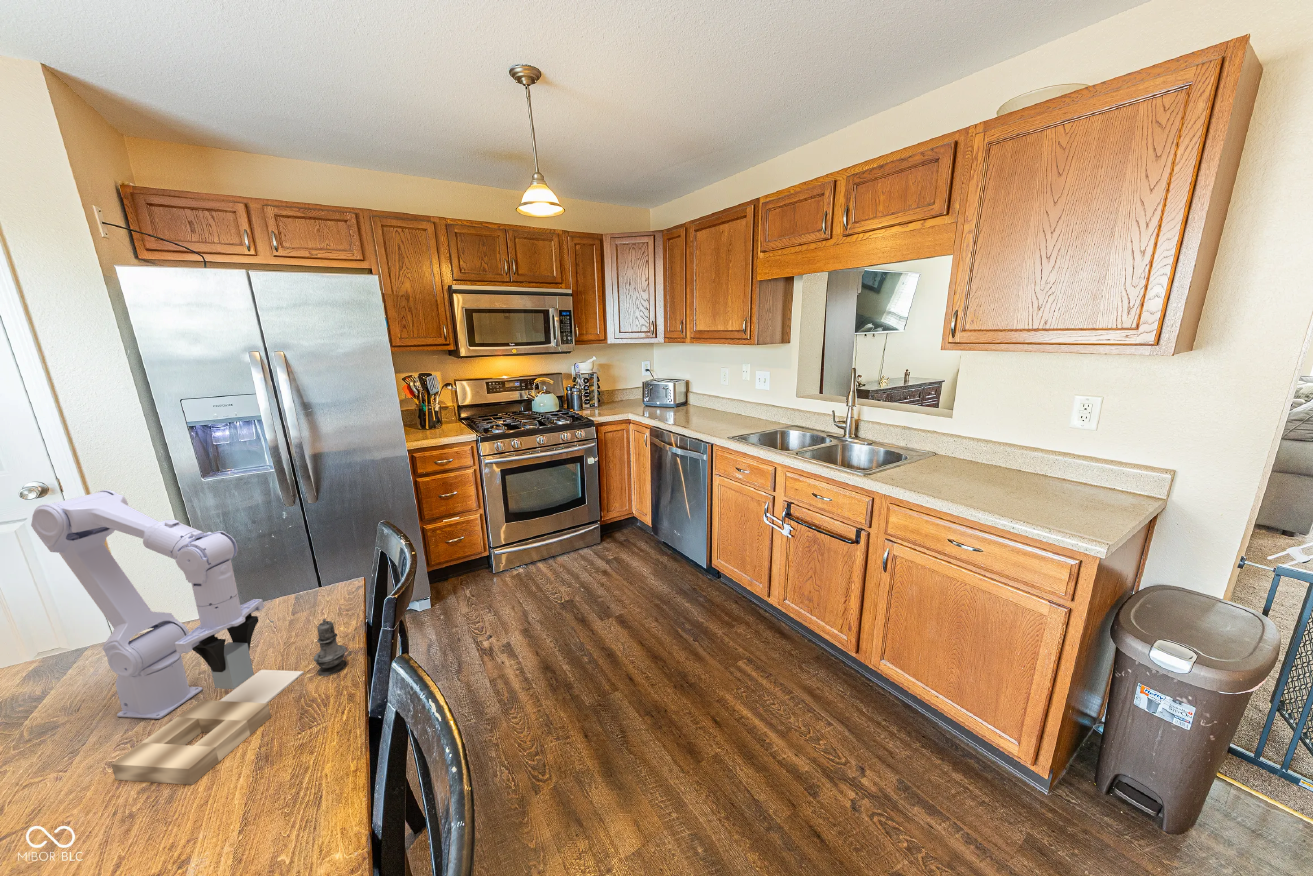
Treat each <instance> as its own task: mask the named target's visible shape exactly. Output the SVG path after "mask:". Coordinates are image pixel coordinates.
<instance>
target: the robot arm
mask: <svg viewBox="0 0 1313 876" xmlns="http://www.w3.org/2000/svg"><path fill="white" fill-rule="evenodd" d="M31 518H32V520H31V524H30V526H31V527H32V530H33V531H34V532H35V534H36V535H37V537H38V538H39V539H40V540H41V542H42V543H43V544H44V546H45V547H46V548H47V550H48V551H49V552H51V553H59V555H60V557H61V558H62V559H63V561H64V562H65V563H66V565H67V566H68V568H69V569H70V571H71V572H72V573H73V575H74V576H75V577H76V579H77V580H78V581H79V583H80V584H81V586H82V587H83V588H84V589H85V591H86V592H87V594H88V596H90V598H91V599H92V600H93V602H94V603H95V604H96V606H97V608H98V609H99V610H100V612H101V613H102V614H103V616H104V617H105V618H106V620H107V621H108V622H109V624H110V625H111V626H112V628H113V631H112V632H111V634H110V636H108V638H107V639H106V641H105V642H104V643H103V645H102V650H103V652H104V654H105V656H106V658H107V663H108V666H109V669H111V671H112V672H114V674H116V675H117V677H116V679H115V688H116V692H117V696H118V699H119V703H120V708H121V711H119V712H118V713H117V714H116V716H117V717H118V718H119V717H121V718H136V719H138V718H139V719H154V720H155V719H157V720H159V719H162V718H164V717H165V716H166V715H168V714H169V713H171V712H172V711H174V710H175V709H177V708H178V707H179V706H181V705H182V704H184V703H185V702H187V701H188V700H190V699H191V698H193V697H194V696H196V695H197V694H199V693H200V692H202V691H203V687H200V686H190V685H189V682H188V677H187V674H186V669H185V666H184V661H183V657H182V655H183V654H188V653H189V652H192V651H194V653H196V654H197V655H198V656H200V658H202V659H203V660H204V661H205V663H206V664H207V665H208V666H209V668H210V671H211V670H212V671H213V672H223V671H225V669H226V663H225V657H224V646H225V644H226V641H227V639H226V638H219V637H218V636H216V634H219V633H220V632H223V631H225V630H227V633H228V634H229V637H230V639H231V642H236V643H247V644H248V648H249V652H250V649H251V644H252V643H251V641H252V638H253V634H254V632H255V629H256V627H257V624H258V623H259V616H257V615H252V614H253V613H255V612H256V611H257V612H258V611H262V610H263V609H264V608H265V606H264V601H263V599H259V598H258V599H257V598H256V599H255V598H253V599H252V600H250V601H247V602H245V603H243V604H241V603H240V602H241V601H240V598H239V594H238V593H239V591H238V588H237V587H238V586H237V583H236V578H235V573H234V568H233V564H232V559H234V558H235V557H236V556H237V555H238V550H239V549H238V544H237V541H236V540H235V539H234V538H233V537H232V535H230V534H228V533H227V532H225V531H223V530H221V531H220V530H218V531H214V532H211V531H208V532H203V531H202V530H199V529H196V528H193V527H191V526H189V525H187V524H183V523H181V522H180V520H176V519H164V520H161V521H159V520H156V519H155V518H153V517H151V516H149V515H146V514H145V513H143V512H141V511H139V510H137V509H135V508H133V507H131V506H129V503H128V501H127V499H126V497H125V495H123V494H119V493H118V492H116V491H114V490H110V489H102V490H100V491H97V492H94V493H90V494H86V495H81V496H78V497H77V496H76V497H74V498H69V499H65V500H60V501H57V502H52V503H44V504H40V505H39V506H37V507H36V508H35V509H34V511H33V514H32V517H31ZM115 531H117V532H121V533H124V534H126V535H130V536H133V537H135V538H140V539H142V544H143V546H144V547H145V549H148V550H150V551H153V552H154V553H155V552H156V553H158V554H160V555H163V556H165V557H168V558H170V559H172V560H175V563H176V565H177V567H178V568H179V569H180V570H181V571H182V572H183V574H184V576H185V580H186V581H187V583H189V584H191V587H192V592H193V597H194V601H195V606H196V610H197V613H198V617H199V623H200V624H199V625H198V626H196V627H195V628H194V629H193V630H191V631H190V630H189V629H188V627H187V625H185V624H184V623H183V622H181V621H179V620H178V619H177V618H176V617H175V616H174V615H173V614H172V613H171V612H164V611H152V610H151V608H150V607H149V605H148V604H147V602H146V601H145V600H144V599H143V597H142V595H141V594H140V593H139V592H138V590H137V589H136V587H135V586H134V584H133V582H131V580H130V578H129V577H128V576H127V575H126V573H125V572H124V570H123V568H121V566H120V565H119V563H118V562H117V561H116V559H115V558H114V556H113V555H112V553H111V552H110V551H109V549H108V547H107V546H106V545H105V543H106V540H107V538H108V537H110V536H111V535H112V534H113V533H114V532H115ZM146 630H148V631H147V632H144V631H146ZM142 632H144V633H142ZM140 633H142V634H141V635H139V636H137V637H135V638H133V637H134V636H135V635H138V634H140ZM132 638H133V639H132Z"/></svg>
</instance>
